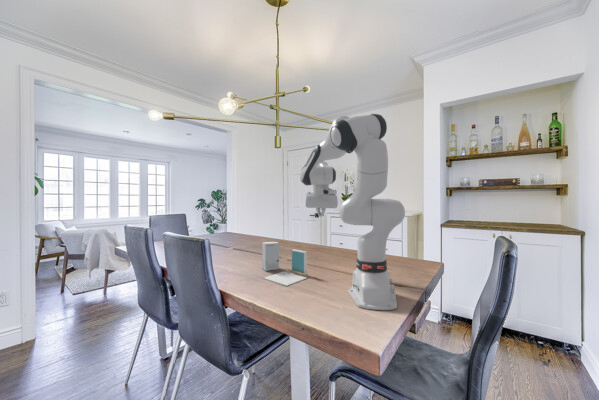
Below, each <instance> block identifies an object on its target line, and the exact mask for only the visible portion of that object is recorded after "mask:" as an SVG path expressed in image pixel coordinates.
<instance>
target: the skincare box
mask: <svg viewBox="0 0 599 400" xmlns="http://www.w3.org/2000/svg"><path fill="white" fill-rule="evenodd" d="M261 245H262V247H261V249H262V251H261V256H262V257H261V260H262V261H261V267H262V268H261V269H262V270H263V271H265V272H268V271H274V270H275V271H276V270H279V269H280V242H277V241H263V242H261Z"/></svg>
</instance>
